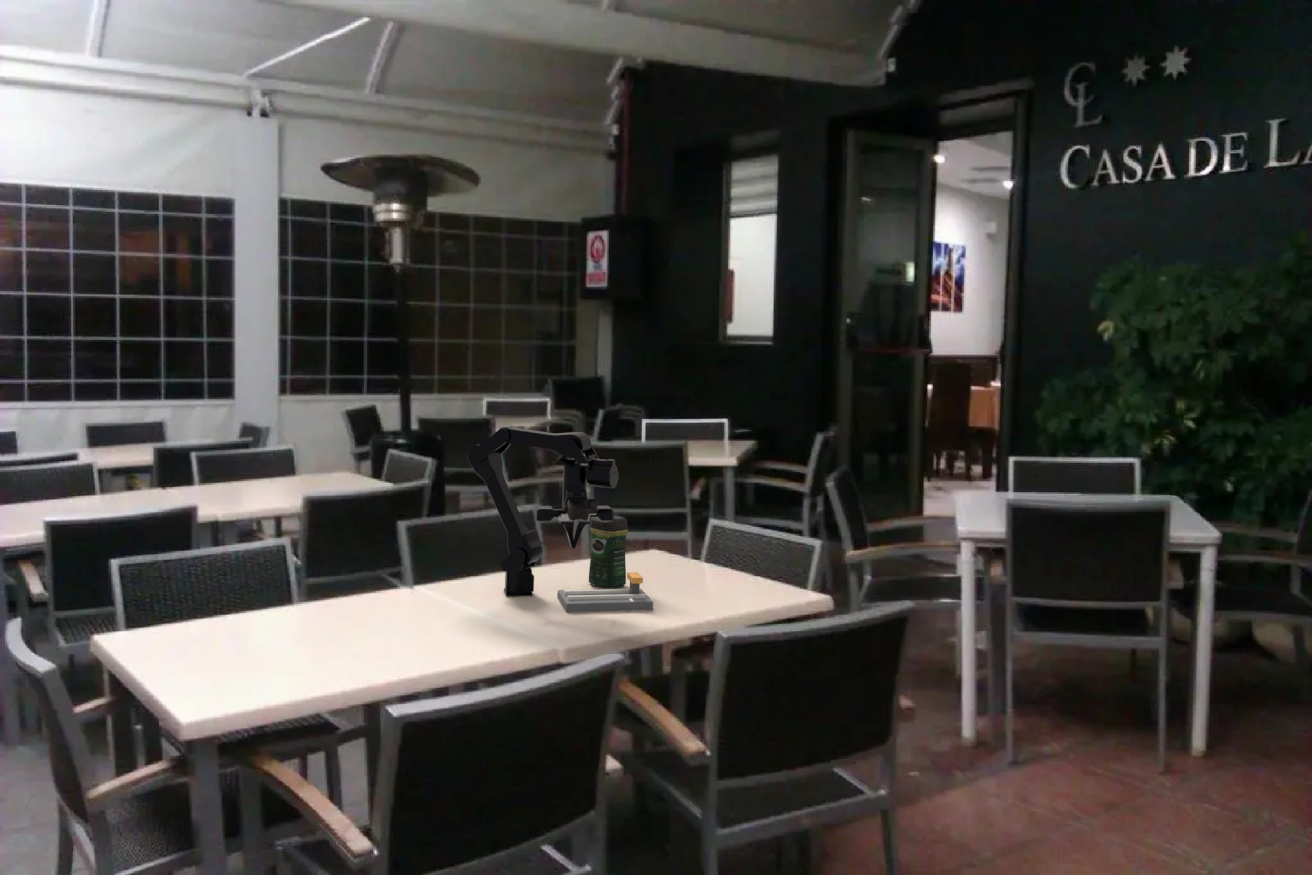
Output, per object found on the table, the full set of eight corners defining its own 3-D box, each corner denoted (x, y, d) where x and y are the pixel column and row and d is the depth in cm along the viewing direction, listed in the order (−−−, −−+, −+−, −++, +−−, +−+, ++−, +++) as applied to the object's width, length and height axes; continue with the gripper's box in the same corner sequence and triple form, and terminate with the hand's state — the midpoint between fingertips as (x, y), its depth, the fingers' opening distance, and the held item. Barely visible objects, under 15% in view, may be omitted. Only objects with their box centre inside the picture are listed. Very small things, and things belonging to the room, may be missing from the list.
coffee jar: (631, 586, 291) (633, 515, 289) (608, 590, 285) (611, 518, 283) (605, 579, 298) (607, 510, 296) (583, 583, 292) (585, 513, 290)
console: (566, 612, 263) (566, 600, 263) (557, 598, 276) (557, 587, 276) (652, 609, 269) (653, 598, 268) (640, 596, 281) (640, 585, 281)
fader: (631, 597, 271) (632, 577, 270) (626, 592, 276) (627, 572, 276) (642, 597, 271) (642, 577, 271) (636, 591, 277) (637, 572, 276)
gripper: (541, 489, 261) (539, 555, 263) (619, 489, 266) (617, 554, 267) (534, 482, 272) (532, 546, 274) (610, 482, 276) (608, 545, 278)
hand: (572, 548), depth 273 cm, fingers closed
